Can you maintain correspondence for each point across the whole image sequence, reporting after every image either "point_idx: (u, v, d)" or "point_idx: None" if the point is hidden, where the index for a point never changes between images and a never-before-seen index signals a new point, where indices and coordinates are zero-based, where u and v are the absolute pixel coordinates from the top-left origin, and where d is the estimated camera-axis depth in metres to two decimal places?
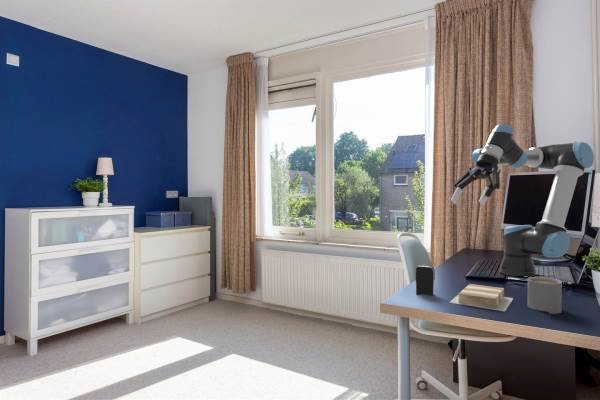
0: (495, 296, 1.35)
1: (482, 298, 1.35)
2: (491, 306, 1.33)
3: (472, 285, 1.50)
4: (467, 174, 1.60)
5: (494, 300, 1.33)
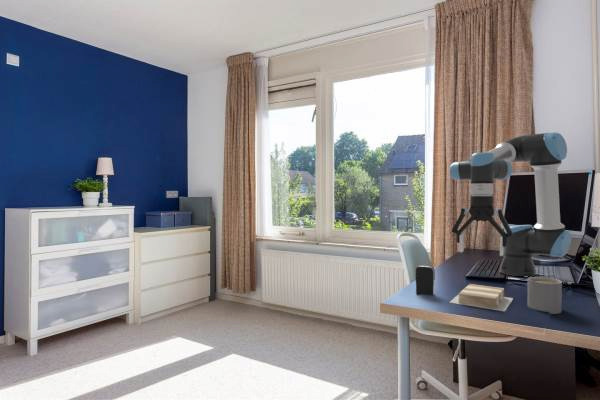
0: (495, 296, 1.35)
1: (482, 298, 1.35)
2: (491, 306, 1.33)
3: (472, 285, 1.50)
4: (463, 216, 1.45)
5: (494, 300, 1.33)
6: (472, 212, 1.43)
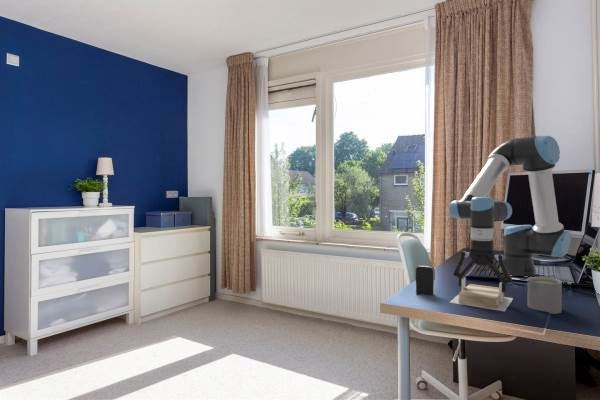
0: (495, 296, 1.35)
1: (482, 298, 1.35)
2: (491, 306, 1.33)
3: (472, 285, 1.50)
4: (464, 260, 1.45)
5: (494, 300, 1.33)
6: (472, 256, 1.43)
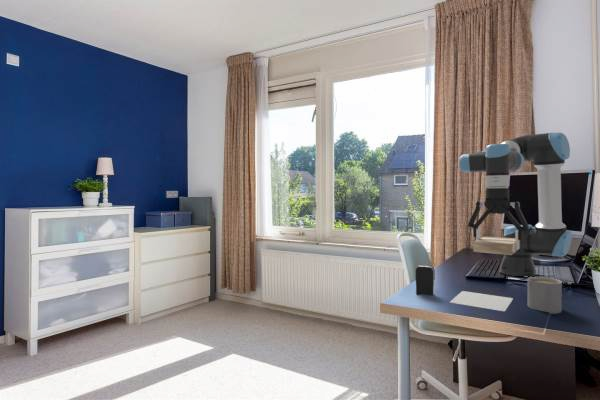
0: (511, 243, 1.33)
1: (498, 245, 1.33)
2: (507, 252, 1.31)
3: (487, 237, 1.48)
4: (478, 210, 1.43)
5: (510, 246, 1.30)
6: (488, 205, 1.41)
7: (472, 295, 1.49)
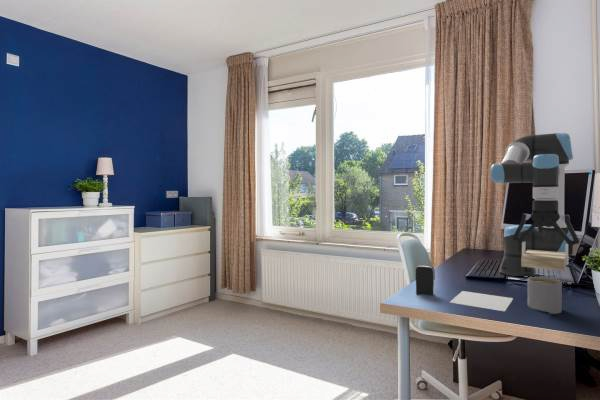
0: (562, 258, 1.27)
1: (549, 260, 1.27)
2: (559, 268, 1.25)
3: (531, 250, 1.42)
4: (524, 222, 1.37)
5: (563, 261, 1.25)
6: (535, 217, 1.35)
7: (472, 295, 1.49)
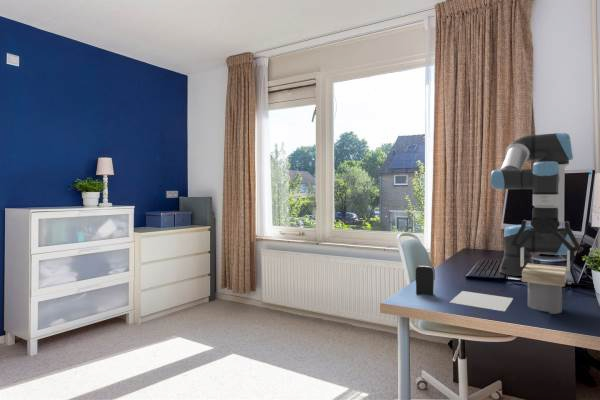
0: (563, 273, 1.28)
1: (549, 275, 1.27)
2: (559, 284, 1.26)
3: (531, 264, 1.42)
4: (524, 229, 1.38)
5: (563, 277, 1.25)
6: (535, 224, 1.35)
7: (472, 295, 1.49)
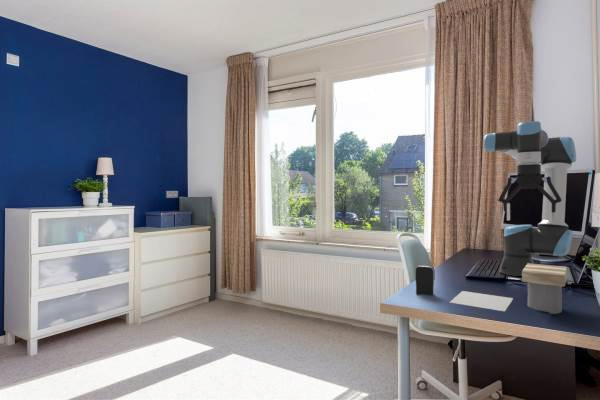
0: (563, 273, 1.28)
1: (549, 275, 1.27)
2: (559, 284, 1.26)
3: (531, 264, 1.42)
4: (510, 185, 1.49)
5: (563, 277, 1.25)
6: (519, 181, 1.46)
7: (472, 295, 1.49)
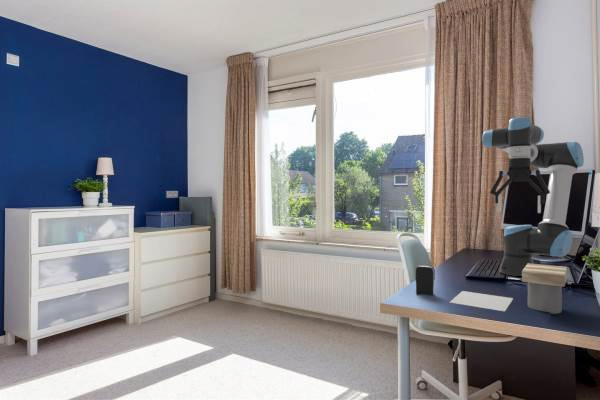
0: (563, 273, 1.28)
1: (549, 275, 1.27)
2: (559, 284, 1.26)
3: (531, 264, 1.42)
4: (501, 178, 1.56)
5: (563, 277, 1.25)
6: (510, 174, 1.53)
7: (472, 295, 1.49)
